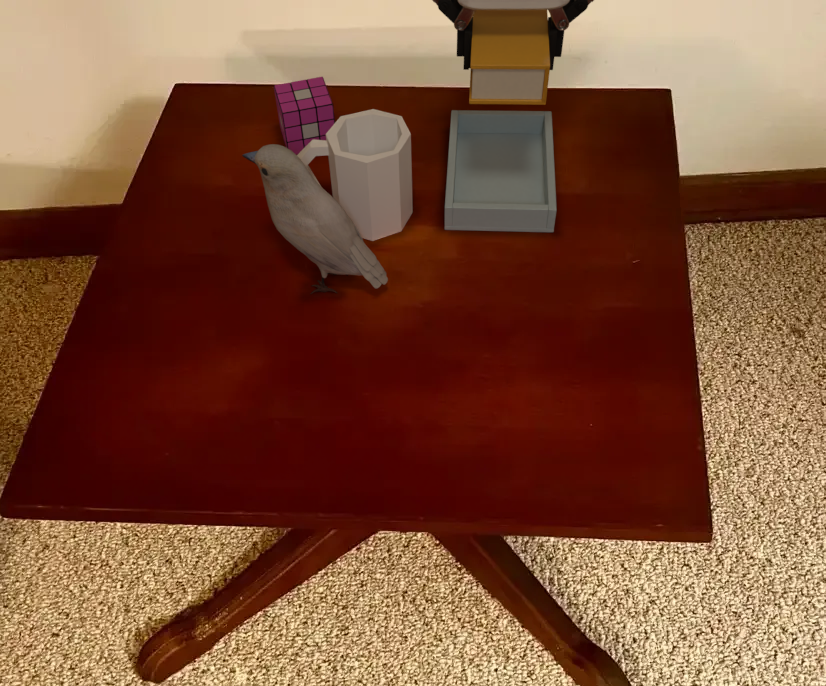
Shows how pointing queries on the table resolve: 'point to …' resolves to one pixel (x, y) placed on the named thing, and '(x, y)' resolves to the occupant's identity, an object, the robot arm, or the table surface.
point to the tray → (500, 172)
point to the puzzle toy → (304, 112)
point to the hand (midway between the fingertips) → (507, 60)
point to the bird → (313, 218)
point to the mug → (369, 170)
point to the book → (509, 57)
